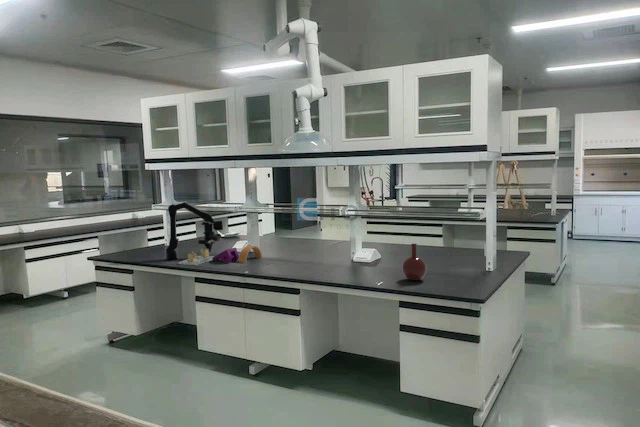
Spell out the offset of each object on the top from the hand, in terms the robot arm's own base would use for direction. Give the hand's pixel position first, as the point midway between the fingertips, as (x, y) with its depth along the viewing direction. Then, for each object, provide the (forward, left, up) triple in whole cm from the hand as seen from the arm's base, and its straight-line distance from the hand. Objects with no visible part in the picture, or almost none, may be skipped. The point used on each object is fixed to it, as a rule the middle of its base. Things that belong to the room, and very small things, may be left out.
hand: (209, 251), depth 345 cm
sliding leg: (0, -6, -2) cm, 6 cm away
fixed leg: (0, -21, -2) cm, 21 cm away
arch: (+35, -3, -4) cm, 36 cm away
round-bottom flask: (+154, -35, -4) cm, 158 cm away
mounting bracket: (+19, -11, -4) cm, 22 cm away
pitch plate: (0, -15, -4) cm, 16 cm away
